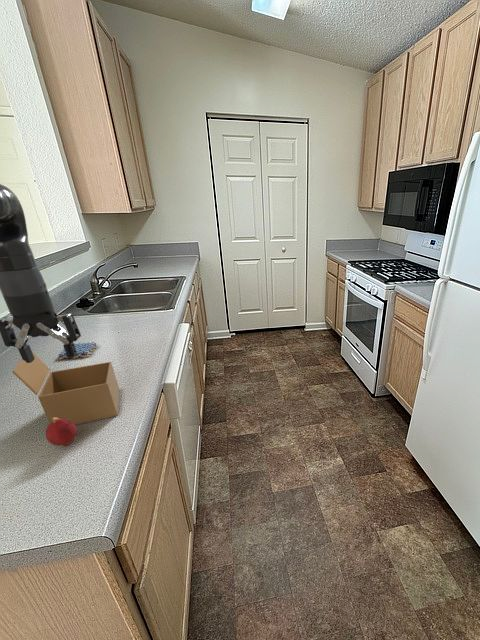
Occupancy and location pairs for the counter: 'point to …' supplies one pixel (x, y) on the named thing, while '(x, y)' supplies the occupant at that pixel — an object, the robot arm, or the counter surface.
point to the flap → (32, 373)
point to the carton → (81, 394)
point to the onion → (61, 432)
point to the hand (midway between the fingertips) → (51, 359)
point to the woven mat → (80, 350)
